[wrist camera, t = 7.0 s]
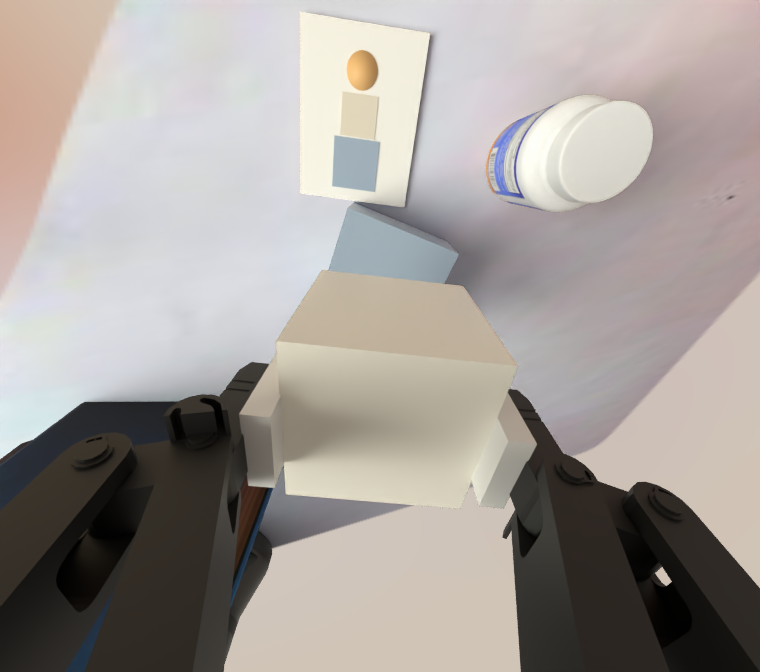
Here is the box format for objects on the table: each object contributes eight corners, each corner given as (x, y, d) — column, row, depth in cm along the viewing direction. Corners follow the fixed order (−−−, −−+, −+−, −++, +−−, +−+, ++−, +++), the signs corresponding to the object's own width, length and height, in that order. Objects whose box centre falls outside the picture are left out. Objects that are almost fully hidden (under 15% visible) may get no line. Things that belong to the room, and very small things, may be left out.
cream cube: (435, 395, 16) (460, 509, 10) (319, 384, 15) (285, 494, 10) (463, 286, 13) (518, 366, 7) (322, 269, 12) (275, 340, 7)
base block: (407, 321, 28) (411, 348, 24) (325, 292, 27) (314, 314, 23) (445, 240, 25) (459, 254, 20) (354, 202, 24) (347, 207, 19)
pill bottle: (575, 145, 21) (703, 124, 13) (524, 216, 24) (604, 239, 15) (516, 100, 20) (614, 43, 12) (468, 179, 22) (520, 180, 14)
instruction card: (404, 207, 23) (404, 207, 23) (301, 193, 23) (299, 193, 23) (429, 35, 19) (430, 32, 18) (301, 14, 18) (299, 11, 18)
